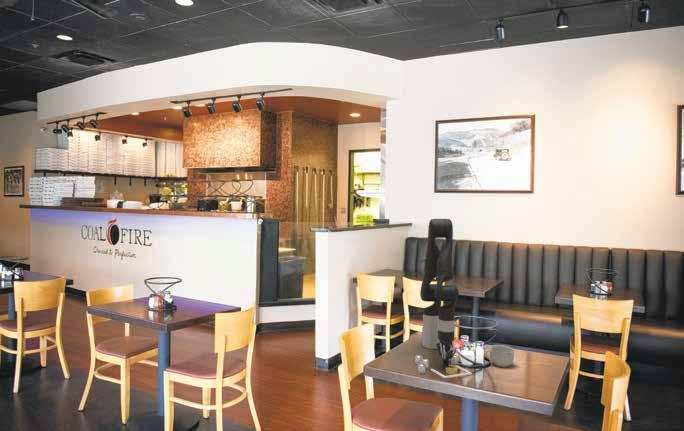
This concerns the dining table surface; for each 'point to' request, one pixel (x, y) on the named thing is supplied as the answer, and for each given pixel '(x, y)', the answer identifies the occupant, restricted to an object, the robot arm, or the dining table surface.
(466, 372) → the frame
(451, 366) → the nut
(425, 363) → the spacer field
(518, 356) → the dining table surface
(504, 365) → the teacup
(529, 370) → the dining table surface
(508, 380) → the dining table surface
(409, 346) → the dining table surface
